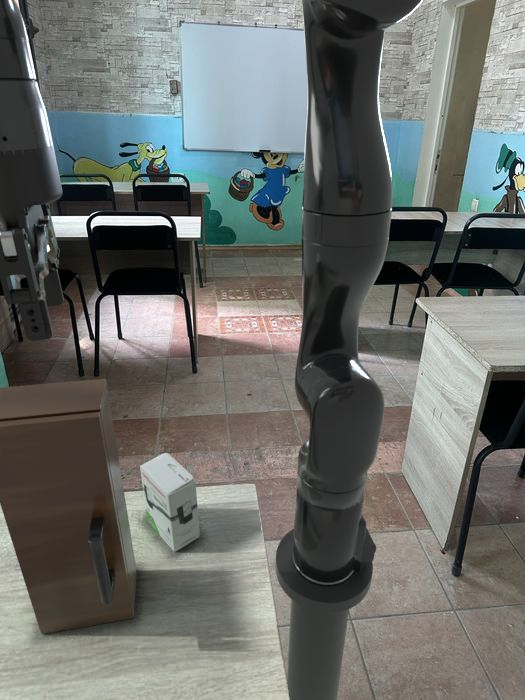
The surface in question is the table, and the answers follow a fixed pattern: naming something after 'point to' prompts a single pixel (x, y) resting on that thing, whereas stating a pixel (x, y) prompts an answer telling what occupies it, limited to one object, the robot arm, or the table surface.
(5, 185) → the robot arm
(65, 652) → the table surface
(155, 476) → the ink box
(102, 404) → the cabinet
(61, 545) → the cabinet door
